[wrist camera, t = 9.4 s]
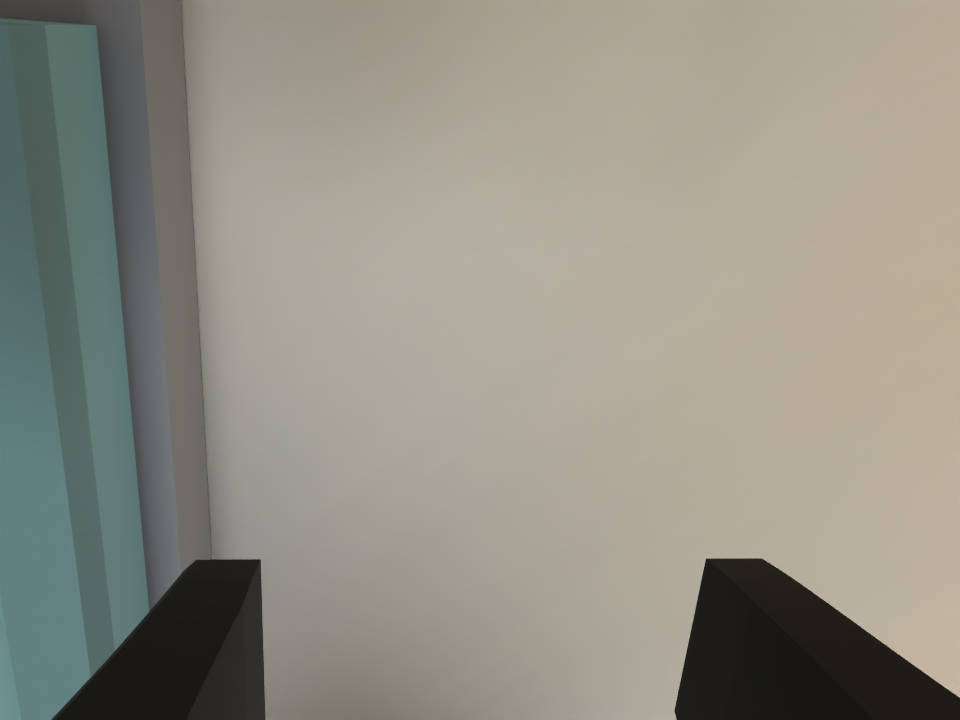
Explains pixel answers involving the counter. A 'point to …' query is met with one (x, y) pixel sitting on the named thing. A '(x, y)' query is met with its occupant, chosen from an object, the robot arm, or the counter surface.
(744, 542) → the counter surface
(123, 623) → the keeper plate
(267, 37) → the counter surface
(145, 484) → the housing
